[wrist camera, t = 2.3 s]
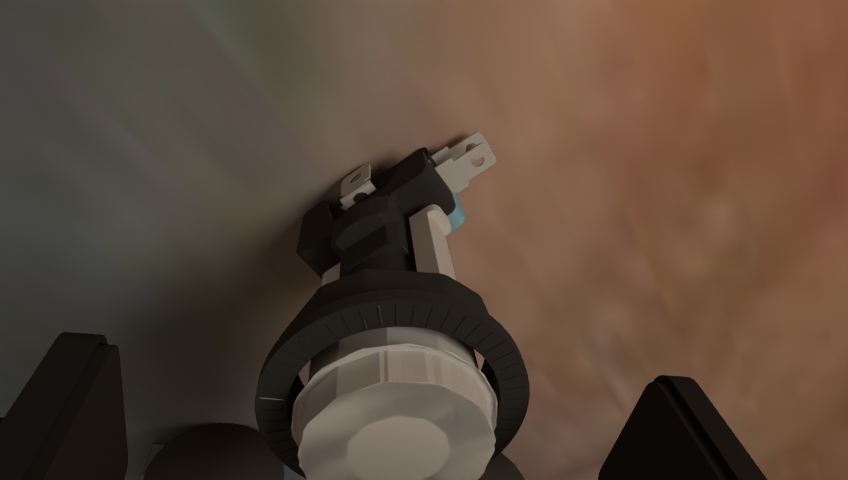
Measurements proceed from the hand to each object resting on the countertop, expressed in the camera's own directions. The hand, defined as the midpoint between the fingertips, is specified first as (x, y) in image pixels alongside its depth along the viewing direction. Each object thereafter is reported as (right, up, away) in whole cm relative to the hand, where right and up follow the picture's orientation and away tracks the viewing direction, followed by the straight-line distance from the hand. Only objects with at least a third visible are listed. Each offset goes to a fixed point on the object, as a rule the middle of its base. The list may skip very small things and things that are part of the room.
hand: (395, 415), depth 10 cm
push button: (0, +5, +9) cm, 10 cm away
